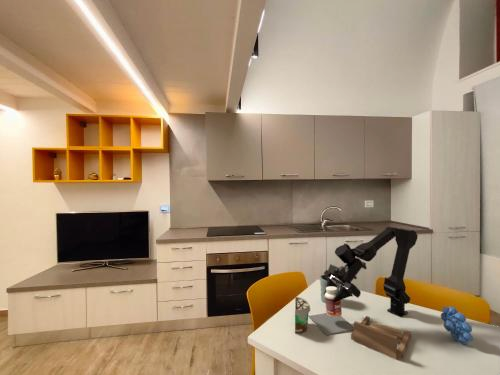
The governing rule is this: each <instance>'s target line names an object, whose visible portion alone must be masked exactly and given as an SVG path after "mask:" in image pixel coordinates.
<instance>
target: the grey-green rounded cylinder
mask: <svg viewBox="0 0 500 375" xmlns="http://www.w3.org/2000/svg"><path fill="white" fill-rule="evenodd" d="M319 282H320V283H319V284H320V300H321V302H322V303H324V304H326V302H325V295H324V292H325V289H326V286H327V278H326V275H325V274H324V273H323V274H321V275H320V276H319ZM336 285H337V286H338V287H336V288H337V293H338V292H339V290H340V285H341V284H339V283H336Z"/></svg>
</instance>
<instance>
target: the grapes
mask: <svg viewBox="0 0 500 375" xmlns="http://www.w3.org/2000/svg"><path fill="white" fill-rule="evenodd" d="M441 310H442V313H440V318H441V320H442V321H443V322H444V323H443V327H444V329H445V330H446V331H448V332H449V333H450V336H451V338H452V339H453V340H455V341H459V342H460V343H461V344H463V345H467V344H468V343H469V342H472V341H473V340H474V337H473V335H472V333H471V332H473V327H472V325H470V323H468V322H466V320H467V317H466V316H465V315H464V314H463V312H460V311H459V312H458V309H457V308H456V307H454V306H449V307H447V306H443V307H442V309H441Z"/></svg>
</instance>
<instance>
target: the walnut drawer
mask: <svg viewBox="0 0 500 375" xmlns="http://www.w3.org/2000/svg"><path fill="white" fill-rule="evenodd" d="M370 323H371V317H370V316H368V315H366V316H365V317H364V318H363V319H362V320H361V322H358V321H356V320H355V321H354V322H353V326H354V331H351V333H350V340H351V341H353V342H355V343H357V344H360V345H361V346H364V347H366V348H369V349H371V350H373V351H376V352H377V353H379V354H383V355H385V356H386V357H387V356H388V357H389V358H391V359H393V360H398V361H402V359H403V357H404V355H405V352H406V350H407V347H408V345H409V343H410V341H411V338H412V331H410V330H408V329H406V331H405V332H404V333H403V339H402V341H401V343H399V344H398V342H397V337H396V336H394V335H391V334H388V333H386V332H383V331H380V330H378V329H375V328H372V327H370V326H369V324H370Z"/></svg>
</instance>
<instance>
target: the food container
mask: <svg viewBox="0 0 500 375" xmlns="http://www.w3.org/2000/svg"><path fill="white" fill-rule="evenodd" d="M294 300H295V303H294V304H295V306H294V307H295V308H294V333H295V334H299V335H301V334H304V333H306V332H307V331H308V327H309V326H308V325H309V313H310V312H311V306H310V303H309V301H308V300H306V299H304V298H302V297H299V296H295V298H294Z"/></svg>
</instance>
